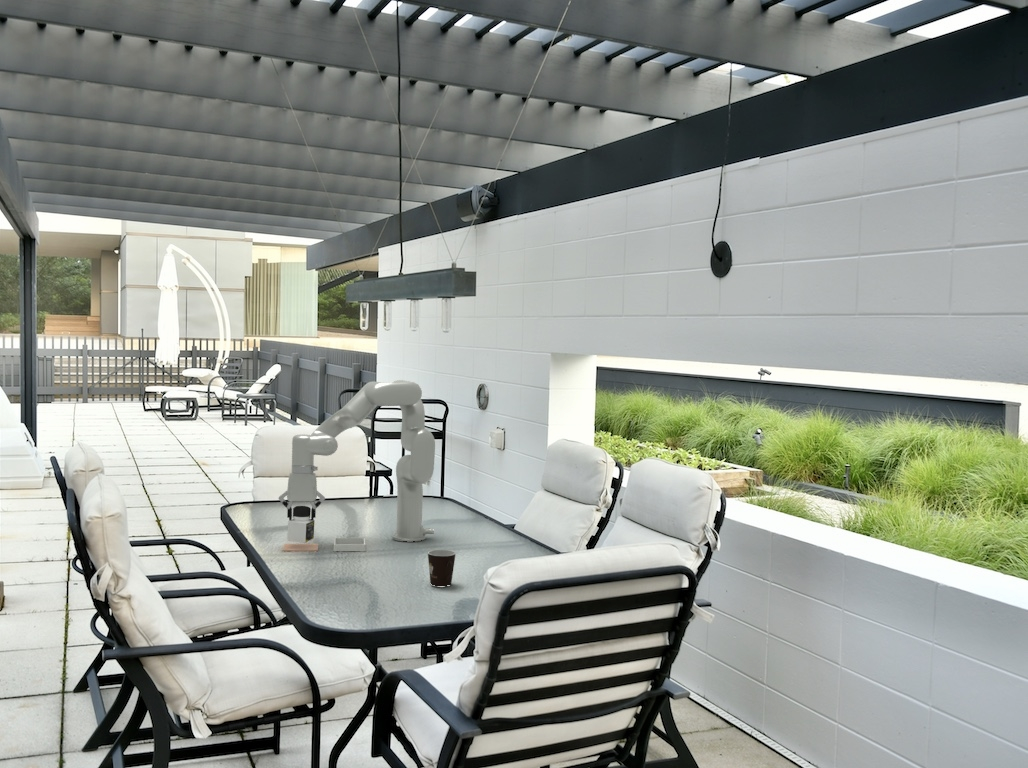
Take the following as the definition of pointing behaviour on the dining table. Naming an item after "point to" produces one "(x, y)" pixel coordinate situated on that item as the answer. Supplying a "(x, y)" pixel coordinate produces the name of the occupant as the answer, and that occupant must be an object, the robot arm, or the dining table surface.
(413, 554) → the dining table surface
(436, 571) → the coffee mug
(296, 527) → the medicine bottle
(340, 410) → the robot arm
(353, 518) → the dining table surface
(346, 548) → the parts bin
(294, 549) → the coaster
